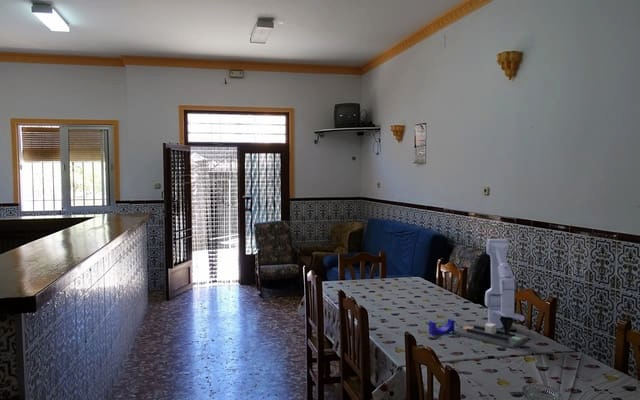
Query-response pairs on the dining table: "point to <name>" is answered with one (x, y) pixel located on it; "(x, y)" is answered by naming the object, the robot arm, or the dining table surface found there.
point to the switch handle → (490, 328)
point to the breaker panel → (491, 335)
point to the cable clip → (442, 330)
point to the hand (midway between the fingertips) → (507, 333)
